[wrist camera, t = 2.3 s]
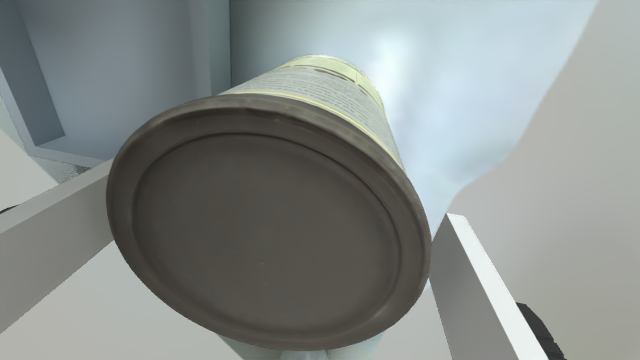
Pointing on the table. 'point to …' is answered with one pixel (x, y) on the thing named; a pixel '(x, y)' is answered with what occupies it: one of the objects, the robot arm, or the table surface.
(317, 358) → the plastic bottle
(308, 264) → the coffee can
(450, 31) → the table surface
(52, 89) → the tray
